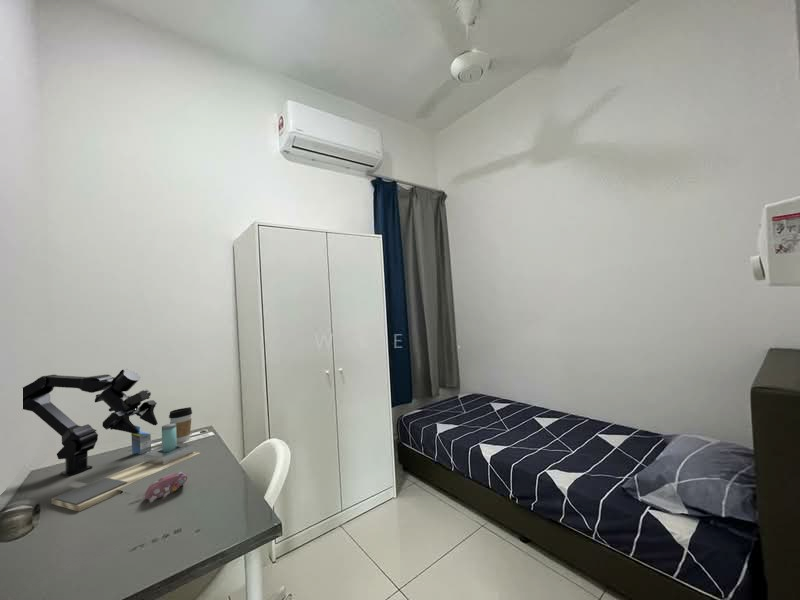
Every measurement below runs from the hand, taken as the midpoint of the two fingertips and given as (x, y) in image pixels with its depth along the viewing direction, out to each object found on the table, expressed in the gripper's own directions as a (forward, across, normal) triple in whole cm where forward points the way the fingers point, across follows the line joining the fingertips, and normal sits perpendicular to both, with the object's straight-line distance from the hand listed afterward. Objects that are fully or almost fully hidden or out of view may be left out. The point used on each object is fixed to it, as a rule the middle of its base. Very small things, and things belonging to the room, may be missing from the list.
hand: (147, 428), depth 115 cm
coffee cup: (+10, +19, +9) cm, 24 cm away
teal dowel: (+14, 0, +2) cm, 14 cm away
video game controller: (+26, -24, -8) cm, 36 cm away
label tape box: (+2, +11, +17) cm, 20 cm away
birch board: (+12, -10, +6) cm, 17 cm away
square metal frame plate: (+14, 0, +2) cm, 14 cm away
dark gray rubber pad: (+8, -21, +9) cm, 24 cm away
